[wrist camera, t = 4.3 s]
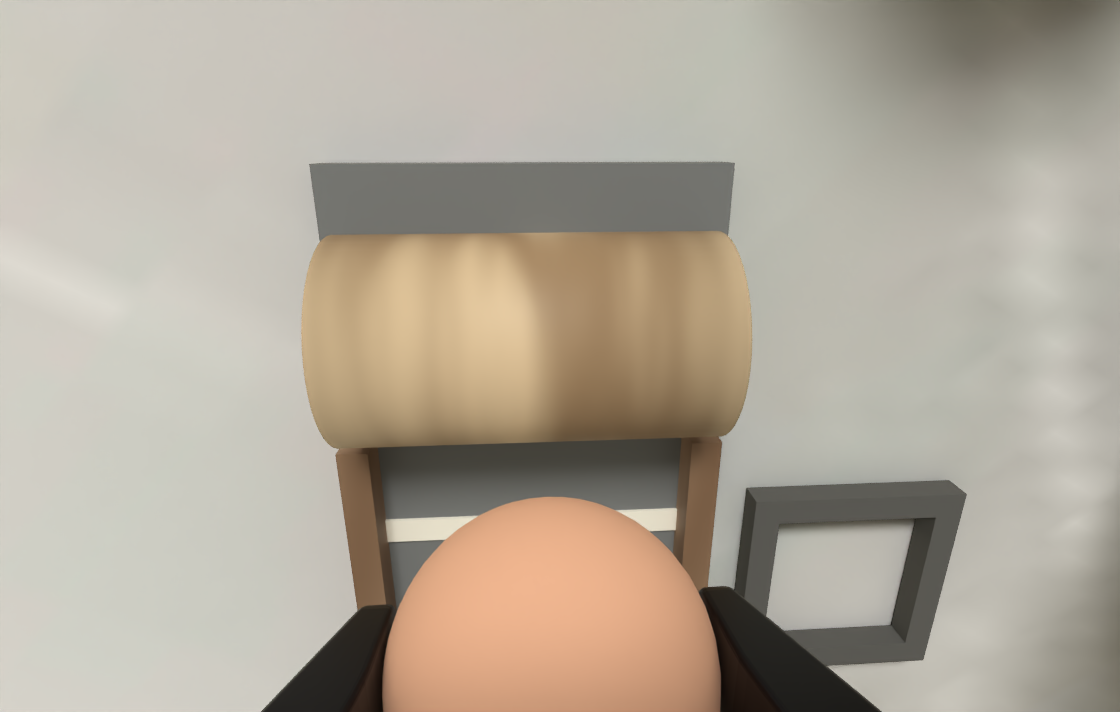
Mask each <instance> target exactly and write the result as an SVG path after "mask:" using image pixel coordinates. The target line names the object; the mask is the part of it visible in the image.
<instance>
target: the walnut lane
mask: <svg viewBox="0 0 1120 712" xmlns="http://www.w3.org/2000/svg"><path fill="white" fill-rule="evenodd" d="M721 447H722V442H721V440H720V439H719V437H688V438H681V451H680V464H679V478H678V491H677V505H676V509H677V518H676V530H675V531H674V545H673V555H674V556H675V557H676V559H677V560H678V561H679V563H680V564H681V565H682V567H683V568H684V569H685V570H686V572H687V573H688V574H689V576H690V578H691V579H692V581H693V583H694V585H695V587H696V589H697V591H698V593H699V590H700V589H702V588H704V587H708V577H709V567H710V557H711V547H712V537H713V527H714V517H715V507H716V497H717V487H718V477H719V467H720V457H721ZM336 462H337V469H338V476H339V483H340V490H341V497H342V504H343V511H344V518H345V525H346V532H347V539H348V546H349V553H350V560H351V567H352V574H353V581H354V588H355V595H356V602H357V609H358V610H359V609H360V608H362V607H363V606H367V605H385V604H390V605H392V606H394V607H395V610H396V613H397V609H396V600H395V592H394V583H393V575H392V566H391V557H390V549H389V542H388V540H387V531H386V523H385V521H386V514H385V506H384V497H383V488H382V480H381V471H380V463H379V454H378V447H375V448H343V449H339V450H338V452H337V453H336Z"/></svg>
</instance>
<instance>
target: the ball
mask: <svg viewBox="0 0 1120 712" xmlns="http://www.w3.org/2000/svg"><path fill="white" fill-rule="evenodd" d="M382 703H383V712H720V705H721V671H720V664H719V657H718V650H717V644H716V638H715V635H714V632H713V628H712V625H711V622H710V619H709V616H708V613H707V610H706V607H705V605H704V603H703V601H702V599H701V597H700V595H699V593H698V591H697V589H696V587H695V585H694V583H693V581H692V579H691V578H690V576H689V574H688V573H687V572H686V570H685V569H684V568H683V567H682V565H681V564H680V563H679V561H678V560H677V559H676V557H675V556H674V555H673V553H672V552H671V551H670V550H669V549H668V548H667V547H666V546H665V545H664V544H663V543H662V542H661V541H660V540H659V539H658V538H657V537H656V536H654V535H653V534H652V533H651V532H650V531H649V530H647V529H646V528H644V527H643V526H642V525H640V524H639V523H638V522H636V521H635V520H633V519H631V518H629V517H627V516H625V515H623V514H622V513H620V512H618V511H616V510H614V509H611V508H608V507H606V506H603V505H601V504H598V503H594V502H590V501H586V500H582V499H576V498H568V497H539V498H529V499H524V500H520V501H515V502H511V503H508V504H505V505H502V506H499V507H496V508H494V509H492V510H490V511H487V512H485V513H483V514H481V515H479V516H478V517H476V518H474V519H473V520H471V521H470V522H468V523H467V524H465V525H464V526H462V527H461V528H459V529H458V530H457V531H455V532H454V533H453V534H452V535H451V536H449V537H448V538H447V539H446V540H444V541H443V543H442V544H441V545H440V546H439V547H438V548H437V549H436V550H435V551H434V552H433V553H432V555H431V556H430V557H429V558H428V559H427V560H426V561H425V563H424V564H423V565H422V567H421V568H420V570H419V571H418V573H417V574H416V575H415V577H414V578H413V580H412V582H411V584H410V586H409V587H408V589H407V591H406V593H405V595H404V597H403V599H402V601H401V603H400V605H399V607H398V610H397V613H396V616H395V619H394V621H393V624H392V628H391V631H390V634H389V638H388V642H387V647H386V653H385V659H384V667H383V675H382Z"/></svg>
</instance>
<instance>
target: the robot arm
mask: <svg viewBox="0 0 1120 712" xmlns="http://www.w3.org/2000/svg"><path fill="white" fill-rule="evenodd" d="M699 595H700V597H701V599H702V601H703V603H704V605H705V607H706V610H707V613H708V616H709V619H710V622H711V625H712V628H713V632H714V635H715V638H716V644H717V650H718V657H719V664H720V671H721V705H720V712H882V711H880V710H879V709H878V708H877V707H875V706H874V705H873V704H872V703H871V702H869V701H868V700H867V699H866V698H865V697H863V696H862V695H861V694H860V693H859V692H857V691H856V690H855V689H854V688H852V687H851V686H850V685H849V684H848V683H846V682H845V681H844V680H843V679H842V678H840V677H839V676H838V675H837V674H835V673H834V672H833V671H832V670H831V669H829V668H828V667H827V666H826V665H825V664H823V663H822V662H821V661H820V660H819V659H817V658H816V657H815V656H814V655H812V654H811V653H810V652H809V651H808V650H806V649H805V648H804V647H803V646H802V645H800V644H799V643H798V642H797V641H796V640H794V639H793V638H792V637H791V636H789V635H788V634H787V633H786V632H785V631H783V630H782V629H781V628H780V627H779V626H777V625H776V624H775V623H774V622H772V621H771V620H770V619H769V618H768V617H766V616H765V615H764V614H763V613H762V612H760V611H759V610H758V609H757V608H756V607H754V606H753V605H752V604H751V603H749V602H748V601H747V600H746V599H745V598H743V597H742V596H741V595H740V594H739V593H737V592H736V591H735V590H734V589H732V588H730V587H727V586H719V587H704V588H702V589H700V590H699ZM395 616H396V610H395V607H394V606H392V605H390V604H385V605H367V606H363V607H362V608H360V609H359V610H358V611H357V612H356V613H355V614H354V615H353V616H352V617H351V618H350V619H349V620H348V621H347V622H346V623H345V624H344V625H343V627H342V628H341V629H340V630H339V631H338V632H337V633H336V634H335V635H334V636H333V637H332V638H331V639H330V640H329V641H328V642H327V643H326V644H325V645H324V646H323V647H322V648H321V649H320V651H319V652H318V653H317V654H316V655H315V656H314V657H313V658H312V659H311V660H310V661H309V662H308V663H307V664H306V665H305V666H304V667H303V668H302V669H301V670H300V671H299V672H298V674H297V675H296V676H295V677H294V678H293V679H292V680H291V681H290V682H289V683H288V684H287V685H286V686H285V687H284V688H283V689H282V690H281V691H280V692H279V693H278V694H277V695H276V697H275V698H274V699H273V700H272V701H271V702H270V703H269V704H268V705H267V706H266V707H265V708H264V709H263V710H262V711H261V712H383V703H382V675H383V667H384V659H385V653H386V647H387V642H388V638H389V634H390V631H391V628H392V624H393V621H394V619H395Z"/></svg>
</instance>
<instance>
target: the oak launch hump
mask: <svg viewBox="0 0 1120 712" xmlns="http://www.w3.org/2000/svg"><path fill="white" fill-rule="evenodd" d="M301 334H302V357H303V368H304V376H305V383H306V388H307V394H308V398H309V403H310V407H311V410H312V413H313V416H314V419H315V422H316V425H317V427H318V429H319V431H320V433H321V435H322V436H323V438H324V439H325V441H326V442H327V443H328V444H329V445H330V446H332V447H333V448H337V449H343V448H375V447H406V446H437V445H469V444H500V443H531V442H562V441H594V440H625V439H656V438H688V437H719V436H724V435H726V434H728V433H729V432H730V431H731V430H732V428H733V427H734V426H735V424H736V422H737V420H738V418H739V416H740V413H741V411H742V408H743V405H744V401H745V398H746V393H747V388H748V383H749V376H750V368H751V356H752V319H751V306H750V298H749V291H748V285H747V280H746V275H745V271H744V267H743V264H742V261H741V258H740V255H739V253H738V251H737V249H736V247H735V245H734V243H733V242H732V240H731V239H730V238H729V237H728V236H727V235H726V234H725V233H723V232H721V231H655V232H557V233H458V234H360V235H328V236H326V237H325V238H323V239H322V240H321V241H320V243H319V244H318V246H317V247H316V249H315V251H314V254H313V256H312V259H311V261H310V265H309V269H308V272H307V277H306V282H305V288H304V296H303V306H302V330H301Z"/></svg>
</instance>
